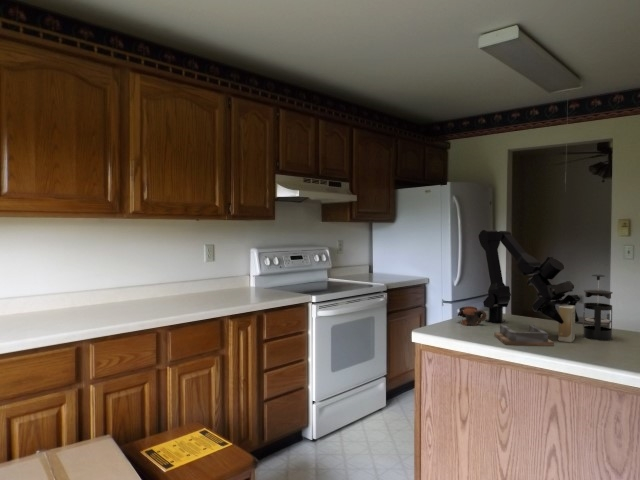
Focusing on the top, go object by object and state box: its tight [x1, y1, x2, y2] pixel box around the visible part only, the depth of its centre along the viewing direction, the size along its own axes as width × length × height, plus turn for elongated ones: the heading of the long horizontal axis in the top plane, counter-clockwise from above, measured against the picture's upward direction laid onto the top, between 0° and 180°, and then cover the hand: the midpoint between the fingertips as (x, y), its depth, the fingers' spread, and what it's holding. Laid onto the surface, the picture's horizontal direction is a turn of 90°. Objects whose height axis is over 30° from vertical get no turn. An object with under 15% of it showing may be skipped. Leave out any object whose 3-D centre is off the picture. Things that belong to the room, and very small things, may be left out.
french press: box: [582, 274, 613, 341], centre depth 167 cm, size 12×9×23 cm
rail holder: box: [493, 324, 555, 347], centre depth 162 cm, size 13×16×4 cm
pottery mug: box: [457, 305, 487, 327], centre depth 191 cm, size 12×10×8 cm
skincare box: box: [557, 305, 576, 343], centre depth 163 cm, size 6×4×12 cm
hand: (570, 322), depth 162 cm, fingers closed on skincare box, 7 cm apart
